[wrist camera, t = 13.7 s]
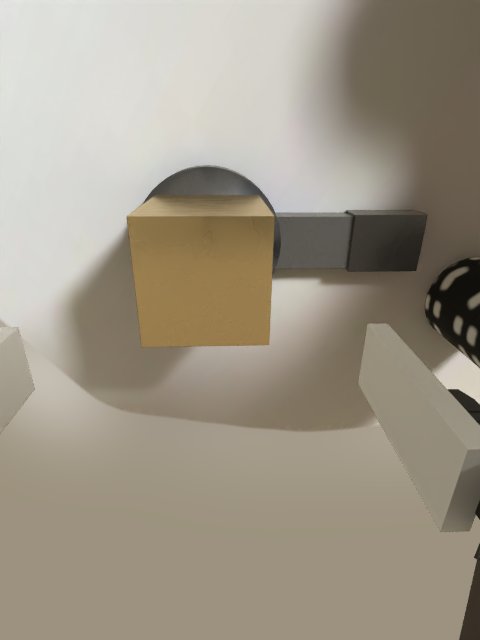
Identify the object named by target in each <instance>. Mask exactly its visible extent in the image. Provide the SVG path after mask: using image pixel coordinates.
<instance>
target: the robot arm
mask: <svg viewBox="0 0 480 640" xmlns="http://www.w3.org/2000/svg"><path fill="white" fill-rule="evenodd" d="M358 385H359V387H360V388H361V390H362V392H363V394H364V396H365V397H366V399H367V401H368V403H369V405H370V406H371V408H372V410H373V412H374V414H375V415H376V417H377V419H378V421H379V423H380V424H381V426H382V428H383V430H384V432H385V433H386V435H387V437H388V439H389V441H390V442H391V444H392V446H393V448H394V450H395V451H396V453H397V455H398V457H399V459H400V460H401V462H402V464H403V466H404V468H405V469H406V471H407V473H408V475H409V477H410V478H411V480H412V482H413V484H414V486H415V487H416V489H417V491H418V493H419V494H420V496H421V498H422V500H423V502H424V504H425V505H426V507H427V509H428V511H429V513H430V514H431V516H432V518H433V520H434V522H435V523H436V525H437V527H438V528H439V531H440V532H459V531H470V529H471V526H472V524H473V521H474V518H475V515H477V516H478V518H479V519H480V405H479V404H478V403H477V402H476V401H475V400H474V399H473V398H471V397H470V396H468V395H466V394H465V393H463V392H462V391H460V390H458V389H448V390H447V389H446V388H445V386H444V385H443V384H442V383H441V382H440V381H439V380H438V379H437V378H436V377H435V375H434V374H433V373H432V372H431V371H430V370H429V369H428V368H427V367H426V365H425V364H424V363H423V362H422V361H421V360H420V359H419V358H418V357H417V356H416V354H415V353H414V352H413V351H412V350H411V349H410V348H409V347H408V346H407V345H406V343H405V342H404V341H403V340H402V339H401V338H400V337H399V336H398V335H397V333H396V332H395V331H394V330H393V329H392V328H391V327H390V326H389V325H388V324H387V323H380V324H368V325H367V331H366V337H365V343H364V350H363V356H362V362H361V368H360V374H359V381H358ZM34 390H35V388H34V384H33V380H32V377H31V373H30V369H29V365H28V362H27V358H26V354H25V350H24V347H23V343H22V339H21V335H20V331H19V327H8V328H0V434H1V432H2V431H3V430H4V428H5V427H6V426H7V424H8V423H9V422H10V420H11V419H12V418H13V417H14V415H15V414H16V413H17V412H18V410H19V409H20V407H21V406H22V405H23V404H24V402H25V401H26V400H27V398H28V397H29V396H30V395H31V393H32V392H33V391H34ZM474 558H476V559H477V563H476V567H475V571H474V576H473V581H472V585H471V590H470V594H469V599H468V603H467V607H466V612H465V616H464V621H463V626H462V630H461V634H460V639H459V640H480V544H479V546H478V549H477V552H476V554H475V556H474Z"/></svg>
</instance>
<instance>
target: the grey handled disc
mask: <svg viewBox="0 0 480 640" xmlns="http://www.w3.org/2000/svg"><path fill="white" fill-rule="evenodd" d="M155 195H259V196H260V197H261V199H262V200H263V201H264V203H265V204H266V205H267V207H268V208H269V209H270V211H271V212H272V213H273V215H274V216H275V218H274V241H273V265H272V275H273V273H274V271H275V269H292V268H345V269H346V270H347V271H348V272H368V271H416V269H417V264H418V259H419V254H420V249H421V245H422V240H423V235H424V230H425V225H426V220H427V214H424V213H421V212H418V211H415V210H347V212H346V213H275V212H274V209H273V207H272V206H271V204H270V202H269V201H268V199H267V198H266V197H265V195H264V194H263V193H262V192H261V190H260V189H259V188H258V187H257V186H256V185H255V184H254V183H253V182H252V181H250V180H249V179H247V178H246V177H245V176H243V175H241V174H239V173H238V172H236V171H233V170H230V169H228V168H224V167H219V166H210V165H204V166H195V167H190V168H187V169H184V170H181V171H179V172H177V173H175V174H173V175H171V176H170V177H168V178H166V179H165V180H164V181H162V182H161V183H160V184H159V185H158V186H156V187H155V188H154V189H153V190H152V192H151V193H150V194H149V196H148V197H147V198H146V200H145V201H144V203H145V202H147V201H148V200H149V199H151V198H152V197H153V196H155ZM144 203H143V204H144Z"/></svg>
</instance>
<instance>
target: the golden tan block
mask: <svg viewBox="0 0 480 640" xmlns="http://www.w3.org/2000/svg"><path fill="white" fill-rule="evenodd" d="M274 218H275V216H274V215H273V213H272V212H271V211H270V209H269V208H268V207H267V205H266V204H265V203H264V201H263V200H262V199H261V197H260V196H259V195H155V196H153V197H152V198H151V199H149V200H148V201H147V202H145V203H144V204H143V205H141V206H140V207H139V208H137V209H136V210H135V211H133V212H132V213H131V214H129V215H128V216H127V224H128V232H129V241H130V249H131V258H132V267H133V275H134V284H135V293H136V301H137V310H138V319H139V327H140V336H141V345H142V347H182V346H244V345H269V336H270V312H271V289H272V265H273V241H274Z"/></svg>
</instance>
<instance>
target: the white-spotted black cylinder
mask: <svg viewBox="0 0 480 640" xmlns="http://www.w3.org/2000/svg"><path fill="white" fill-rule="evenodd" d="M425 311H426V316H427V319H428V321H429V323H430V324H431V326H432V327H433V328H434V329H435V330H436V331H437V332H439V333H440V334H441V335H442V336H443V337H444V338H446V339H447V340H448V341H449V342H450V343H451V344H453V345H454V346H455V347H456V348H457V349H458V350H460V351H461V352H462V353H463V354H464V355H465V356H466V357H468V358H469V359H470V360H471V361H472V362H473V363H475V364H476V365H477V366H478V367H479V368H480V257H475V258H468V259H465V260H462V261H459V262H457V263H455V264H454V265H452V266H450V267H449V268H447V269H446V270H445V271H443V272H442V273H441V274H440V276H439V277H438V278H437V279H436V280H435V282H434V283H433V284H432V286H431V288H430V290H429V292H428V295H427V298H426V304H425Z"/></svg>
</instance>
